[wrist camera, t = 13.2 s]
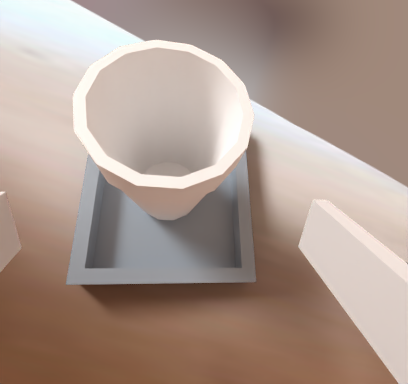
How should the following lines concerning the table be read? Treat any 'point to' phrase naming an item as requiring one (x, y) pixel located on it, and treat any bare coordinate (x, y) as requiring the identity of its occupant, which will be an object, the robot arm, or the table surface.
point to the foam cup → (163, 123)
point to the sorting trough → (162, 237)
